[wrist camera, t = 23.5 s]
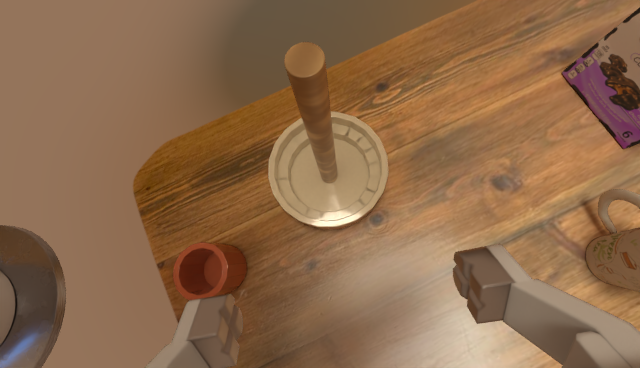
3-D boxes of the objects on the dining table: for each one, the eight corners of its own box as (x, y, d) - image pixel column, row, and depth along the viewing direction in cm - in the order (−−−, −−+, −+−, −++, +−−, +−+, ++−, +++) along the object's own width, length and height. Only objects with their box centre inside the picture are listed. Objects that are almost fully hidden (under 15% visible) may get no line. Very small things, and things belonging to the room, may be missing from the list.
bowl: (275, 230, 42) (266, 227, 37) (278, 129, 46) (270, 114, 41) (386, 229, 41) (391, 225, 36) (380, 125, 44) (384, 109, 39)
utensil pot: (199, 293, 41) (169, 301, 34) (203, 244, 42) (176, 242, 36) (245, 293, 40) (225, 302, 33) (248, 243, 42) (229, 242, 35)
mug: (597, 304, 36) (689, 322, 27) (545, 209, 39) (610, 194, 30) (661, 281, 36) (776, 291, 27) (604, 188, 39) (688, 167, 30)
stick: (321, 183, 42) (283, 78, 17) (321, 167, 43) (284, 42, 18) (337, 183, 42) (325, 76, 17) (337, 167, 42) (324, 40, 17)
